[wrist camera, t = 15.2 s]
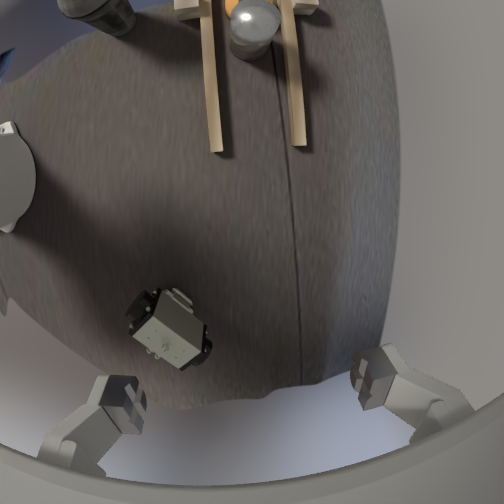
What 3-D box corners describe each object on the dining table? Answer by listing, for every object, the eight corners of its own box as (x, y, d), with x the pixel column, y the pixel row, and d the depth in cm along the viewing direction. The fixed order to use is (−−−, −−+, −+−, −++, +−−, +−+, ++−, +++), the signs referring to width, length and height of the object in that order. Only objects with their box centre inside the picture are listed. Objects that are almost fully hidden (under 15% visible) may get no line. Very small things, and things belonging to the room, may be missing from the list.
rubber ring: (220, 23, 29) (220, 14, 26) (231, -9, 26) (231, -19, 24) (264, 31, 30) (267, 23, 27) (273, -1, 27) (277, -10, 25)
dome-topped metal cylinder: (225, 57, 31) (226, 32, 21) (233, 26, 29) (236, -6, 20) (263, 64, 31) (276, 41, 22) (270, 33, 30) (284, 3, 20)
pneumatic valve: (157, 265, 41) (137, 310, 30) (214, 312, 45) (213, 365, 34) (136, 288, 42) (113, 335, 31) (192, 331, 46) (185, 385, 35)
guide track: (188, 154, 35) (184, 156, 32) (178, -12, 25) (173, -25, 22) (323, 144, 36) (333, 145, 33) (305, -17, 26) (312, -29, 22)
